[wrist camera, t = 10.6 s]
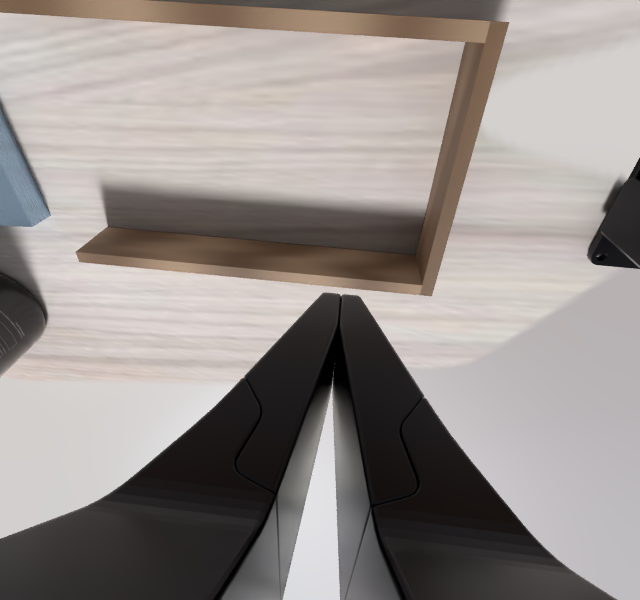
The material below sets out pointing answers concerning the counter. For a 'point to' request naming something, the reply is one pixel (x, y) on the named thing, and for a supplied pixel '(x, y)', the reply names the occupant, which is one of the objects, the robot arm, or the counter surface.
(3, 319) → the supplement bottle
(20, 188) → the cover plate
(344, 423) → the robot arm
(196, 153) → the counter surface
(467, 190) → the counter surface
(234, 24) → the open box
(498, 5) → the counter surface
